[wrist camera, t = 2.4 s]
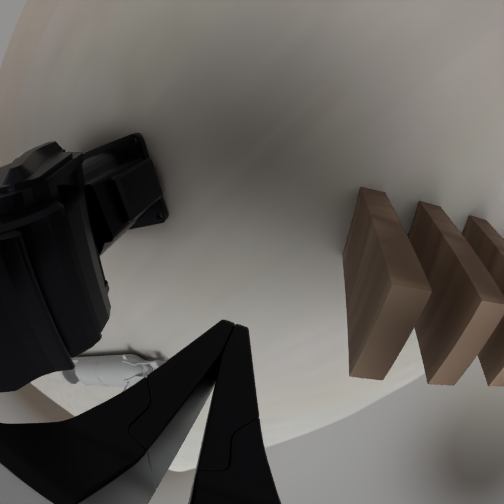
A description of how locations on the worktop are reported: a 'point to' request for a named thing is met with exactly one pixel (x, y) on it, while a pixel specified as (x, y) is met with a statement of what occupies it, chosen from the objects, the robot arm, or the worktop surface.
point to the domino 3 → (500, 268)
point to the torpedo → (110, 370)
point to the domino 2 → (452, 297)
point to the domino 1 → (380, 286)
